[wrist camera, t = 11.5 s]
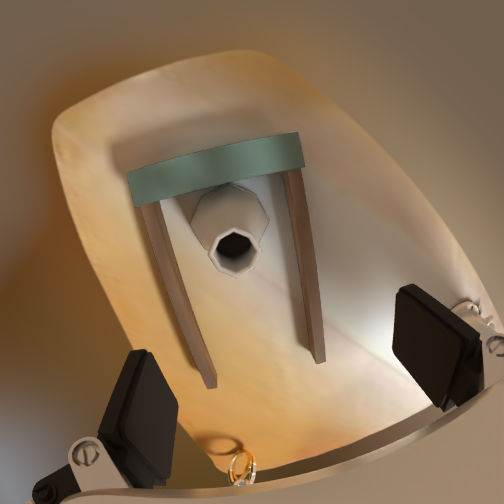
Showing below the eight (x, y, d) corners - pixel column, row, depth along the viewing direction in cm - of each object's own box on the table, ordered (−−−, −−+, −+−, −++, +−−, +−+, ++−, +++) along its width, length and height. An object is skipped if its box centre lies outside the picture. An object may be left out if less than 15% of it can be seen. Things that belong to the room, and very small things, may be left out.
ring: (235, 460, 39) (238, 495, 32) (220, 456, 38) (222, 492, 31) (259, 444, 38) (265, 482, 30) (243, 440, 37) (248, 479, 30)
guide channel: (286, 136, 25) (298, 132, 21) (319, 349, 33) (330, 369, 29) (139, 171, 24) (126, 173, 20) (207, 375, 32) (207, 398, 28)
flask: (232, 271, 28) (239, 323, 19) (177, 225, 26) (154, 258, 17) (281, 218, 27) (314, 247, 18) (227, 168, 25) (230, 169, 16)
